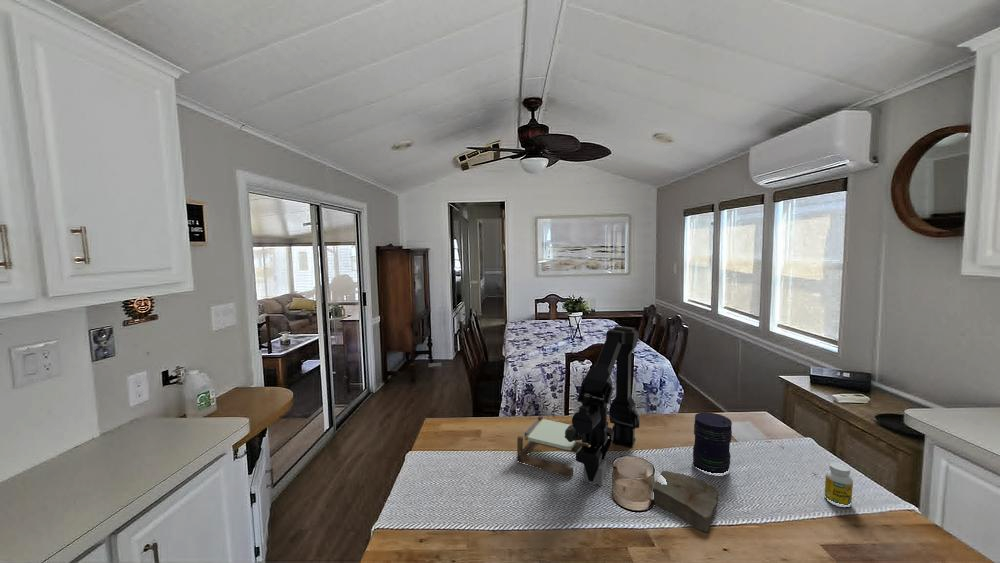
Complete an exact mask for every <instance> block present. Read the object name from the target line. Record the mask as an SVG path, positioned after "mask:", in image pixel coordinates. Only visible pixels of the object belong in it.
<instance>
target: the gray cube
mask: <svg viewBox="0 0 1000 563" xmlns="http://www.w3.org/2000/svg"><path fill="white" fill-rule="evenodd" d="M601 461H602V462H601V464H600V466H599V468H598V471H597V473H596V475H595V478H594V480H593V482H591V481H589V480H588V476H587V473H586V470H585V467H584V466H583V481H584V480H585V481H584V482H586V481H588V482H587V483H589V482H591V483H590V484H593V483H595V484H594V485H596V484H600V485H602V486H603V484H604V482H605V480H606V478H607V460H606V459H604V460H603V459H601ZM605 477H606V478H605ZM604 479H605V480H604ZM603 481H604V482H603ZM602 483H603V484H602ZM600 485H599V486H600Z"/></svg>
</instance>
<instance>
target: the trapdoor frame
mask: <svg viewBox="0 0 1000 563" xmlns="http://www.w3.org/2000/svg"><path fill="white" fill-rule="evenodd" d="M542 419H544V418H543V416H542V415H538V417H537V420H539V421H541V420H542ZM523 440H524V439H523V436H522V435H518V436H517V442H516V443H517V444H516V445H517V446H516V447H517V451H516V452H517V454H516V455H517V456H516V457H517V460H516V461H519V462H521V463H525V464H528V465H531V466H534V467H533V468H535V467H538V468H537V469H539V468H541V469H540V470H542V469H544V470H543V471H546V470H547V471H546V472H549V471H551V472H550V473H553V472H554V473H553V474H556V473H558V474H557V475H560V474H561V476H563V475H564V477H567V476H569V477H568V478H571V477H572V478H573V476H574V467H573V466H569V465H565V464H563V463H558V462H554V461H550V460H547V459H543V458H539V457H536V456H532V455H530V454H531V453H532V452H533V450H535V448H536V447H538V445H539V444H540V443H537V442H533V441H528V443H527V444H526V445H525V446H524V445H523V444H524V443H523V442H524V441H523ZM523 446H524V447H523ZM581 446H587V447H590V445H589V444H588V443H582V440H578V441H577V442H576V444H575V445H574V447H573V448H572V449H574V450H578V449H579V448H580V447H581ZM531 451H532V452H531ZM530 452H531V453H530ZM528 453H530V454H529V455H527V454H528ZM521 463H520V464H521ZM528 465H527V466H528ZM531 466H530V467H531Z"/></svg>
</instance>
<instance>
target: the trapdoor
mask: <svg viewBox="0 0 1000 563" xmlns="http://www.w3.org/2000/svg"><path fill="white" fill-rule="evenodd" d="M570 425H571V424H567V423H564V422H558V421H555V420H549V419H546V418H543V419H542V420H541V421H539V420H538V419H537V420H535V422H533V424H531V426H530V427H529V428H528V429H526V431H525V432H524V440H525V441H528V442H530V441H533V442H537V443H539V444H543V445H545V446H549V447H553V448H557V449H561V450H566V451H572V450H573V449H574V448H573V447H574V445H575V444H576V442H577V441H578V440H577V441H572V442H569V441H568V440H567V439H566V438H565V430H566V429H567V428H568V427H569V426H570Z"/></svg>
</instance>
